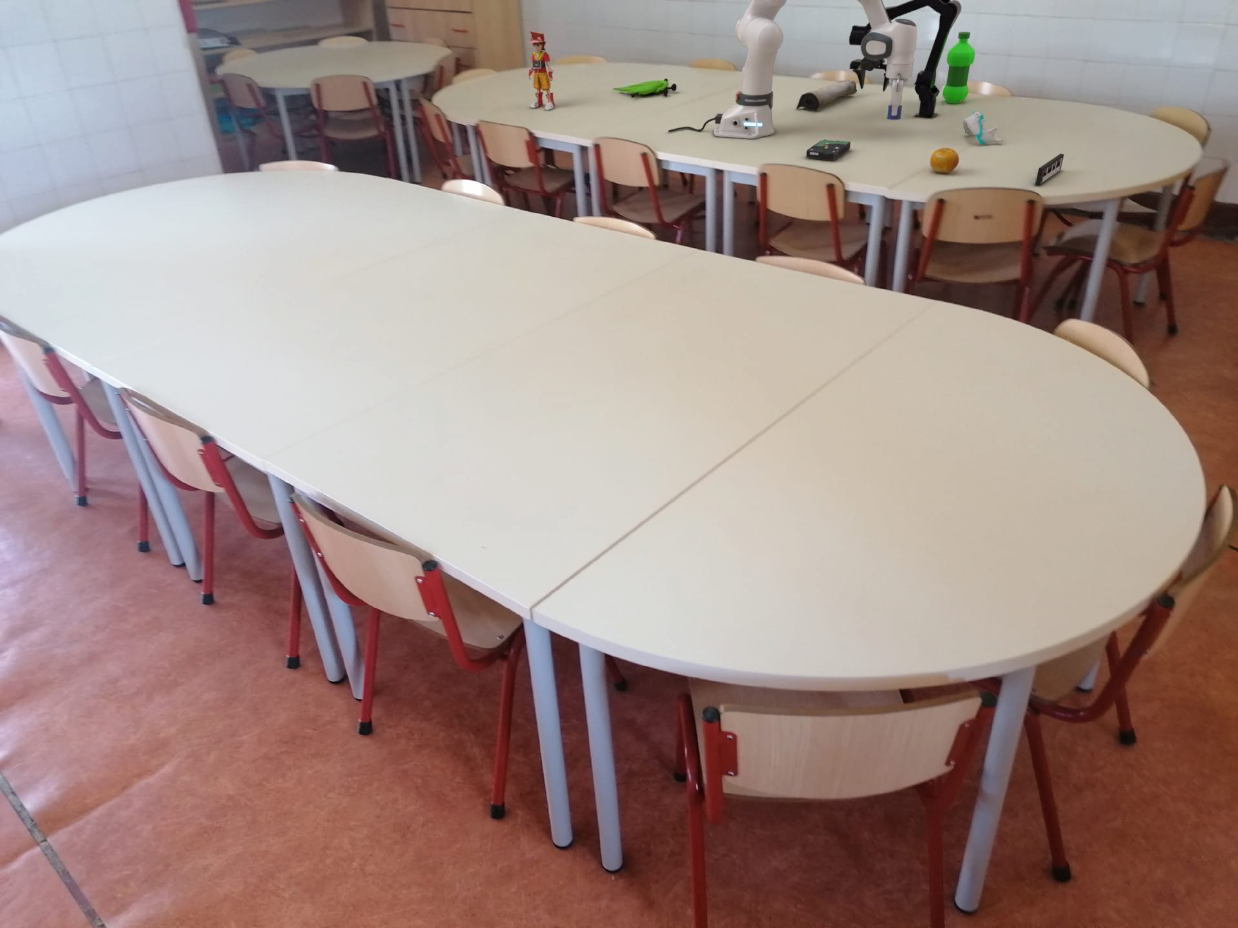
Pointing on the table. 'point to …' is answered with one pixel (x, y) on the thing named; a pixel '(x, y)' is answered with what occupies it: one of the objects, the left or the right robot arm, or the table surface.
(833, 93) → the rolled mat
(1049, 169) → the midi keyboard
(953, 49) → the plastic bottle
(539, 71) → the toy
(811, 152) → the disk drive
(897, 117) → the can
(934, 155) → the fruit
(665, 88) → the toy
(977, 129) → the anatomical model
